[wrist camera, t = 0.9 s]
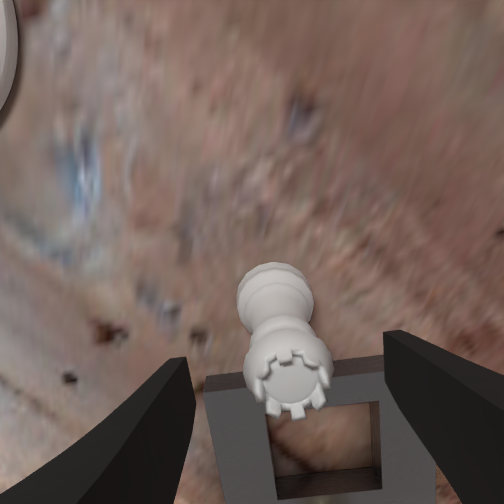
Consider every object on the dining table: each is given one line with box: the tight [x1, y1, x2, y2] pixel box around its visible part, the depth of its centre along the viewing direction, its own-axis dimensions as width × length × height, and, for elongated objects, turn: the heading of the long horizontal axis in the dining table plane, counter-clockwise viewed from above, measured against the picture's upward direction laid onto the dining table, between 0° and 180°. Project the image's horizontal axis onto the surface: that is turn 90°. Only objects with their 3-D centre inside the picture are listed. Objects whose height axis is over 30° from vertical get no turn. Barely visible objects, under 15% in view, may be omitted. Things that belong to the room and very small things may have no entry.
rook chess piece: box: [236, 262, 334, 422], centre depth 13 cm, size 4×4×8 cm
